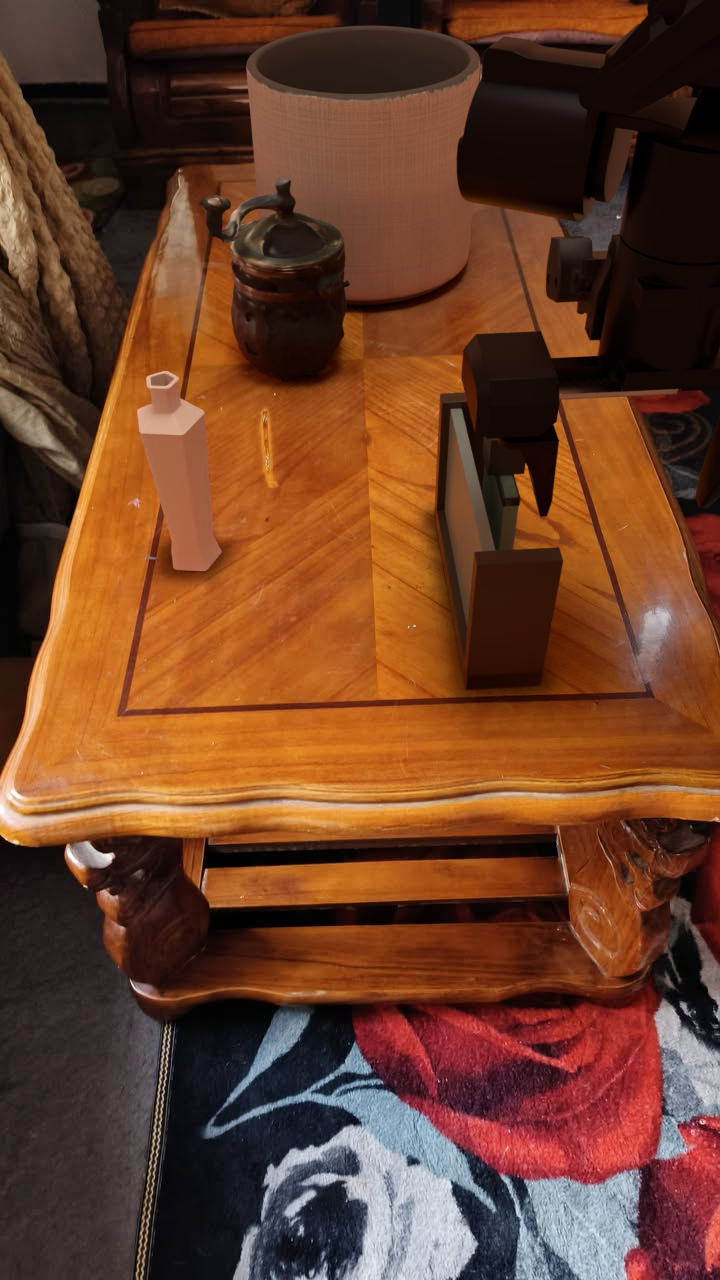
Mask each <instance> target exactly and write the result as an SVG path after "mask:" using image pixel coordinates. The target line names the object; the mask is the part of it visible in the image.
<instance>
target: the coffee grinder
mask: <svg viewBox="0 0 720 1280" xmlns="http://www.w3.org/2000/svg"><path fill="white" fill-rule="evenodd" d="M290 185H291V181H290V180H289V179H286V178H278V179H277V181H276V184H275V187H276V190H277V193H274V194H269V195H264V196H258V197H257V196H253V197H251V198H248V199H246V200H244V201H242V202H241V203H240V204H239V205H238V207H237V208H236V209H235V210H233V212H232V213H231V215H230V216H229V221H228V223H227V225H225V227H223V225H224V224H223V223H224V222H223V214H224V213H225V212H226V211H229V210H230V209H231V208H232V203H231V200H230V199H228V198H225V197H222V196H220V195H218V194H215V195H212V196H206V197H203V198H201V199H200V200H199V202H198V205H200V206H201V207H202V208H203V210H204V212H205V218H206V219H205V220H206V221H205V222H206V223H205V224H206V227H207V230H208V236H210V237H211V238H217V239H219V240H221V242H222V243H223V244H229V248H230V249H229V250H230V258H231V271H232V279H233V290H232V300H231V309H230V317H231V324H232V329H233V330H232V331H233V335H234V338H235V340H236V342H237V347H238V350H239V351H240V352H241V353H242V355H243V356H244V358H245V360H246V361H247V362H248V363H249V365H251V366H252V367H253V368H255V369H256V370H257V371H258V372H259V373H261V374H265V375H272V376H274V377H275V378H276V379H277V380H279V381H280V382H284V381H290V380H293V379H295V378H298V377H301V376H305V375H309V376H310V377H314V376H317V375H318V374H319V373H321V372H323V371H324V370H325V369H326V367H327V364H329V362H330V361H331V360H332V358H333V357H334V355H335V353H336V351H337V349H338V348H340V347H339V346H340V344H341V342H342V341H343V338H344V337H345V330H344V327H343V326H344V325H343V324H344V320H345V316H346V313H347V309H348V305H347V302H346V296H345V289H344V287H348V286H349V285H350V283H349V282H348V280H347V281H345V282H344V270H345V246H344V239H343V236H342V234H341V232H340V231H339V230H338V229H336V228H335V227H334V226H333V225H331V224H329V223H326V222H324V221H322V220H317V219H314V218H310V217H308V216H306V215H303V214H300V213H296V212H293V209H294V207H295V204H296V201H295V199H294V197H293V196H292V195H291V193H290ZM258 209H269V210H274V211H275V212H276V213H274V214H271V215H269V216H267V217H264V218H261V219H260V220H259V219H257V220H252V221H248V222H245V221H243V220H244V219H245V217H246V216H247V215H248V214H250V212H253V211H255V210H258Z"/></svg>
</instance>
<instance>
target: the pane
mask: <svg viewBox="0 0 720 1280" xmlns="http://www.w3.org/2000/svg"><path fill="white" fill-rule="evenodd" d="M482 455H483V459H484V474H483V485H482V496H483V500H484V504H485V508H486V513H487V517H488V521H489V525H490V529H491V534H492V538H493V542H494V546H495V550H496V551H498V550H514V547H515V538H516V531H517V530H516V529H517V523H518V515H519V508H520V505H521V499H522V498H521V494H520V491H519V487H518V483H517V481H516V480H517V479H516V478H515V475H524V474H525V471H526V462H525V460H524V458H523V456H522V454H521V452H520V450H508V449H505V448H503V447H501V446H500V445H499V443H498V439H497V438H491V439H487V438H485V437H484V440H483V451H482Z"/></svg>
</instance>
